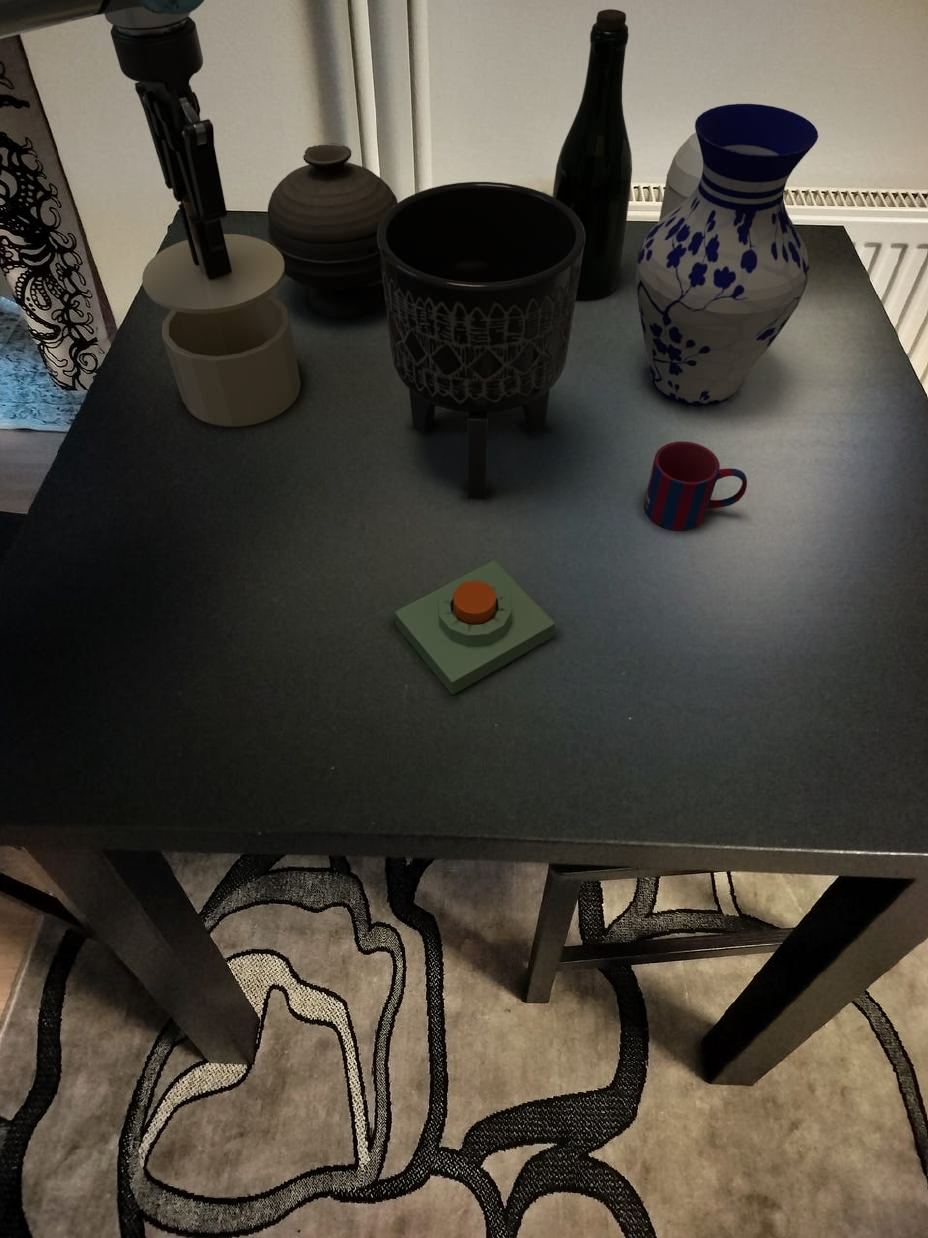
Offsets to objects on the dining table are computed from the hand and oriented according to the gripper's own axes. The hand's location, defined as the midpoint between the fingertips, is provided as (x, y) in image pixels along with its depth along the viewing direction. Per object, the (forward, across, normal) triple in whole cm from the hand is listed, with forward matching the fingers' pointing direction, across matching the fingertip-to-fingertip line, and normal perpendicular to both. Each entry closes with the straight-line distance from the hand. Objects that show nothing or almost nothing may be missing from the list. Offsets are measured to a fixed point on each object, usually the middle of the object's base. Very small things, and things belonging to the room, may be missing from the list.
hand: (212, 266), depth 95 cm
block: (+16, -48, -2) cm, 51 cm away
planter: (+17, -26, -18) cm, 36 cm away
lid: (+1, 0, 0) cm, 1 cm away
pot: (+17, +11, -21) cm, 29 cm away
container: (+17, -13, -66) cm, 69 cm away
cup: (+17, -48, -31) cm, 59 cm away
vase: (+17, -31, -48) cm, 59 cm away
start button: (+13, -48, -2) cm, 50 cm away
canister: (+16, 0, 0) cm, 16 cm away
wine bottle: (+17, -5, -51) cm, 54 cm away
